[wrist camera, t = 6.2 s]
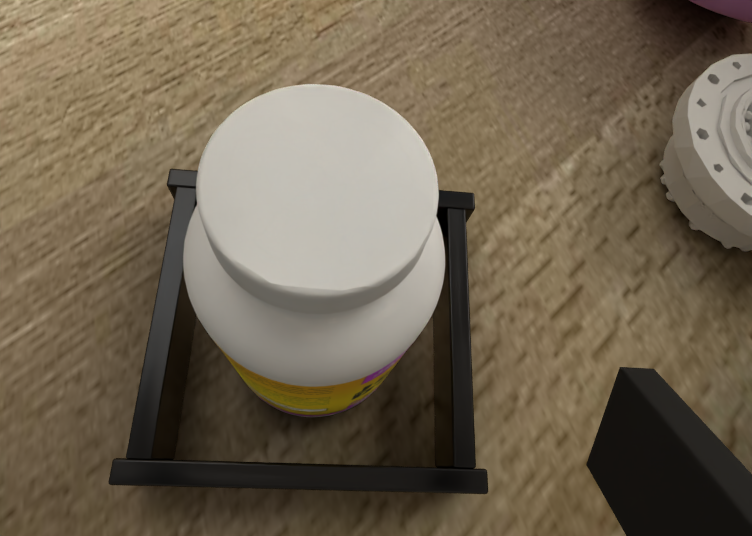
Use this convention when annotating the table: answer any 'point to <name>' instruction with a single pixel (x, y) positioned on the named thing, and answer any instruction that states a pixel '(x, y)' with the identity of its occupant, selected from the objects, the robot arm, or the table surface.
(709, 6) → the teapot
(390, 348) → the supplement bottle
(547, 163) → the table surface
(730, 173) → the mechanical component
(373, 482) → the black square frame
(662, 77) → the table surface
